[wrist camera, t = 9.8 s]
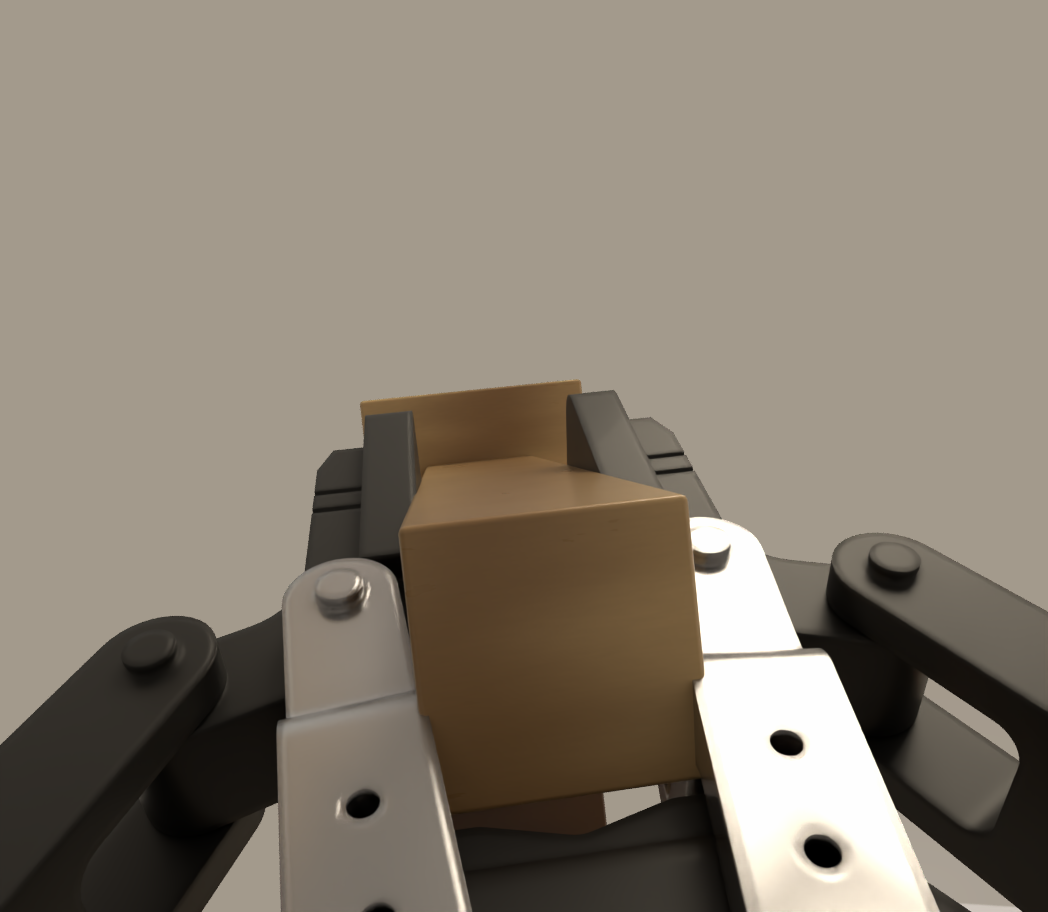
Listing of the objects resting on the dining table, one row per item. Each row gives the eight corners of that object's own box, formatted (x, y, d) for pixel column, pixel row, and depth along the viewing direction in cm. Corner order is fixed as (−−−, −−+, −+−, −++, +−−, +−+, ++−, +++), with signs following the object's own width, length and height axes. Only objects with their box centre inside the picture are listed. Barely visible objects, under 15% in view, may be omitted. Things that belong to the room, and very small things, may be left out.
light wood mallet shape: (265, 844, 7) (206, 342, 7) (393, 547, 25) (377, 408, 25) (866, 757, 7) (822, 285, 7) (565, 526, 25) (550, 390, 25)
